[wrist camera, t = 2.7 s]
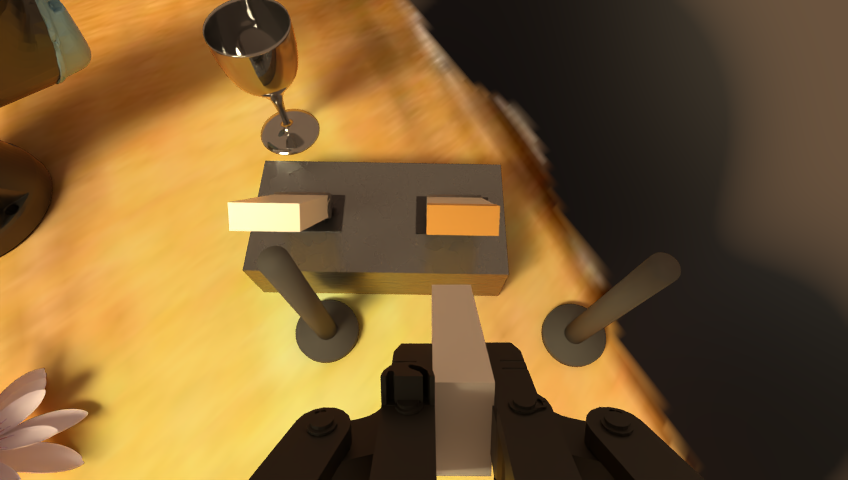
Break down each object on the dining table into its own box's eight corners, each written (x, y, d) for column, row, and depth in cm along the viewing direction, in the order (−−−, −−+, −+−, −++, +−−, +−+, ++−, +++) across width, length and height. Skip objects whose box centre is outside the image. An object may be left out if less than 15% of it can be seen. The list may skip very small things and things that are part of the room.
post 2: (529, 324, 44) (594, 250, 27) (576, 296, 45) (665, 209, 29) (566, 378, 41) (662, 333, 25) (615, 346, 43) (736, 283, 26)
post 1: (288, 320, 43) (210, 244, 27) (342, 292, 45) (299, 202, 29) (312, 374, 41) (243, 326, 25) (369, 342, 43) (338, 277, 26)
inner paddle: (332, 217, 42) (300, 234, 31) (280, 216, 42) (229, 233, 31) (332, 192, 42) (299, 200, 31) (279, 191, 42) (227, 199, 31)
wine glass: (272, 168, 51) (219, 67, 38) (247, 122, 54) (190, 13, 41) (333, 140, 53) (304, 35, 40) (306, 97, 56) (270, -14, 43)
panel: (498, 295, 45) (509, 274, 39) (264, 291, 45) (242, 269, 39) (491, 195, 50) (500, 163, 44) (282, 192, 50) (264, 159, 44)
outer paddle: (478, 219, 42) (498, 238, 31) (425, 218, 42) (426, 236, 31) (479, 194, 42) (500, 204, 30) (426, 193, 42) (427, 202, 30)
